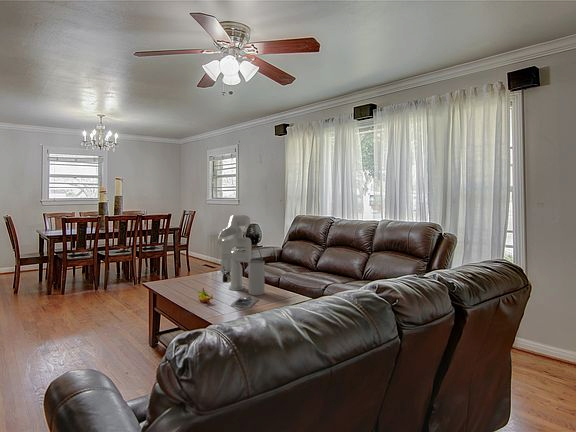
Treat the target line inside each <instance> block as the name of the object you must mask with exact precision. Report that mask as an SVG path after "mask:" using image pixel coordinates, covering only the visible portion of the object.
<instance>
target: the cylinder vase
mask: <svg viewBox="0 0 576 432" xmlns="http://www.w3.org/2000/svg"><path fill="white" fill-rule="evenodd" d="M265 264H266V263H265V260H264V261H263V260H250V261H249V262H248V294H249V295H251V296H262V295H264V294H265V267H266V266H265Z"/></svg>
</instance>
